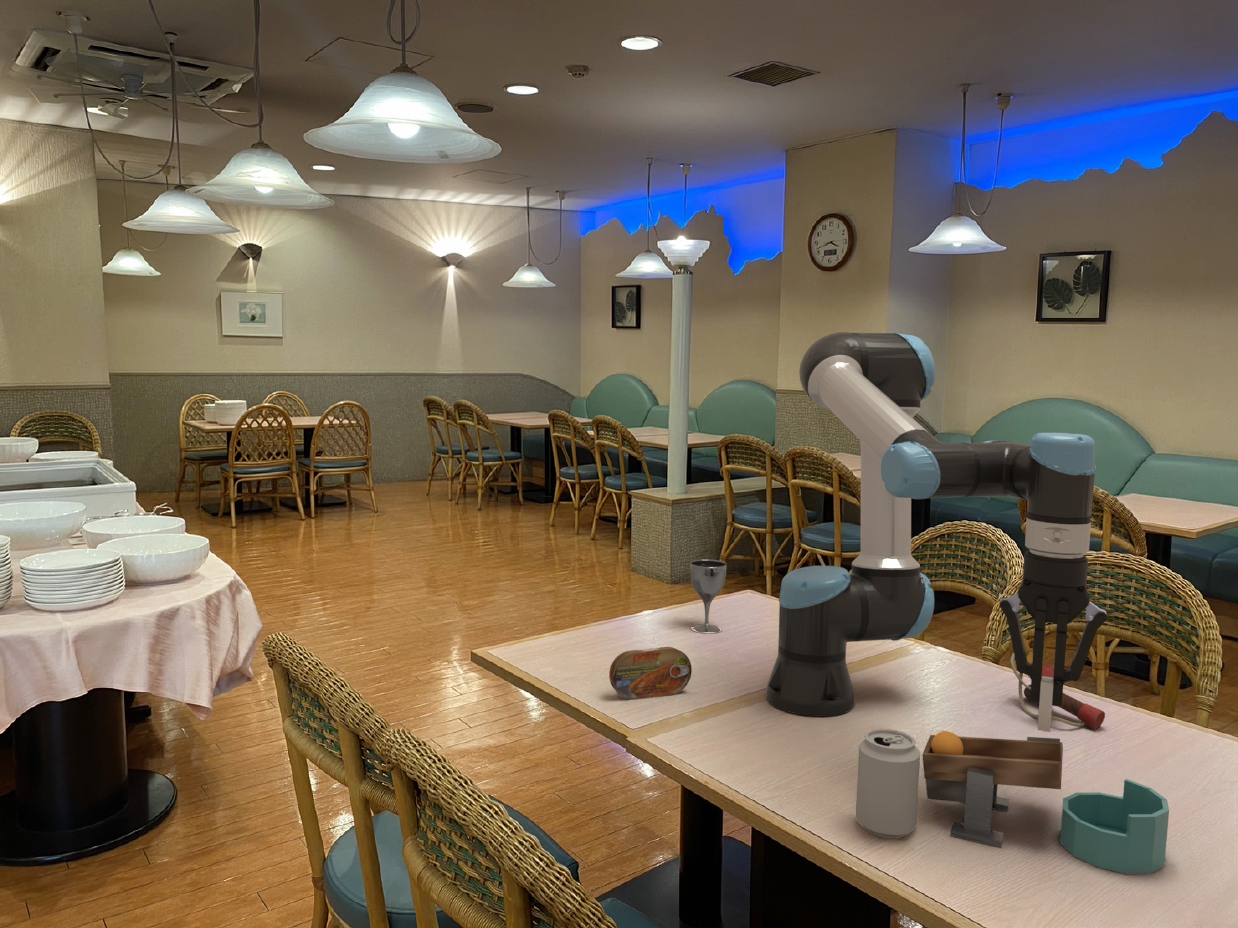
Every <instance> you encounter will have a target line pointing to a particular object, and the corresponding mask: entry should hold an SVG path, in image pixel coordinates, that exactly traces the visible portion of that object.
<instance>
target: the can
mask: <svg viewBox="0 0 1238 928" xmlns="http://www.w3.org/2000/svg"><path fill="white" fill-rule="evenodd" d="M857 755H858V757H857V780H856V798H855V800H856V801H855V802H856V803H855V819H856V821H857V822H858V823H859V824H860V825H861V826H862V827H863V829H865V830H866V831H867V832H868V833H870V834H872V835H874V836H877V837H881V838H885V839H900V838H903V837H906V836H907V835H908V834H910V833H912V832H913V831H914V830H915V829H916V828H917V816H918V803H919V802H918V800H919V781H920V779H919V778H920V762H921V761H920V760H921V751H920V750H919V748H917V746H916V740H915V738H914V737H912V736H911V735H910V734H908V733H906V732H904V731H901V730H897V729H892V728H874V729H870V730H868V731H867V732H865V734H864V738H863V740H862V741H860V743H859V745H858V754H857Z"/></svg>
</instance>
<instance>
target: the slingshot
mask: <svg viewBox="0 0 1238 928" xmlns="http://www.w3.org/2000/svg"><path fill="white" fill-rule="evenodd" d="M1022 637H1023V636H1022ZM1023 642H1024V647H1025V652H1026V657H1027V662H1028V663H1030V664H1032V662H1033V651H1031V648H1030V645H1029V642H1028V641H1027V639H1026V638H1025V637H1023ZM1008 653H1009V657H1010V661H1009V662H1010V667H1011V670H1012V671H1013V673H1014V675H1015V676H1016V678H1017V680H1018V698H1019V702H1020V706H1021V707H1022V710H1023V711H1024V713H1026V714H1027V715H1028V716H1030V717H1032V718H1035V719H1038V717H1039V714H1035V713H1032V712H1031V711H1030V710H1029V709H1028V708H1027V706H1026V704H1025V702H1024V698H1023V695H1024V697H1025V698H1026V699H1027V700H1028V701H1029V702H1031V699H1030V693H1031V683H1030V684H1026V683H1025V682H1024V680H1023V678H1024V677H1023V676H1024V673H1019V672H1018V670H1017V668H1016V666H1015V662H1014V661H1015V656H1014V651H1013V646H1012V641H1011V639H1010V640H1009V642H1008ZM1042 676H1045V677H1051V678H1053V677H1054V665H1051V664H1050V663H1049V664H1048V663H1043V669H1042ZM1023 686H1024V687H1025V688H1024V689H1023ZM1059 708H1060V709H1062V710H1064V711H1065V712H1068V713H1069V714H1071V715H1072V716H1074V717H1076V718H1077V719H1078V720H1079V721H1081V722H1073V721H1070V720H1067V719H1064V718H1061V717H1058V716H1054V715H1051V721H1052V720H1053V721H1057V722H1061V723H1063V724H1067V725H1069V726H1073V727H1077V728H1078V727H1079V728H1080V727H1083V726H1084V725H1087V726H1088V727H1090V728H1092V730H1098V729H1099V728H1101V726H1102V724H1103V723H1104V720H1105V717H1106V712H1104V710H1101V709H1099V708H1097V707H1095V706H1093V705H1091V704H1088V703H1084V702H1082V701H1080V700H1078V699H1076V698H1075V697H1073V696H1070V695H1068V694H1066V693H1065V692H1063V696H1062V704H1061V706H1060V707H1059Z"/></svg>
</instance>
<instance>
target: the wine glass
mask: <svg viewBox="0 0 1238 928" xmlns="http://www.w3.org/2000/svg"><path fill="white" fill-rule="evenodd" d="M689 569H690V570H689V571H690V572H689V573H690V581H691V585H692V588H693V589H694V591H695V592H696V594H697V595H698V597H699V598H700V599H701V600H702V601H701V602H702V603H703V606H704V622H703V623H702V624H695V626H694V625H692V626H691V627H694V628H693V629H695V630H696V631H698V632H719V631H720V629H719V628H718V625H714V624H710V622H709V621H710V620H709V616H710V614H709V613H710V608H711V605H712V602H713V600H714V599H715V598H716V597H717V595H718V594H719V593H721V591H722V590H723V589H724V585H725V583H726V582H725V581H726V576H727V563H726V562H725V561H723V560H717V559H710V558H709V559H708V558H706V559H705V558H704V559H700V558H699V559H694V560H691V561H690V565H689ZM719 633H720V632H719Z"/></svg>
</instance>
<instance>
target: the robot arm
mask: <svg viewBox="0 0 1238 928" xmlns="http://www.w3.org/2000/svg"><path fill="white" fill-rule="evenodd" d="M929 348H930V347H928V345H926V343H925V342H924V340H922V339H921V338H919V337H918V336H915V335H911V334H904V333H898V332H895V333H893V332H888V333H887V332H882V333H881V332H847V331H845V332H841V331H840V332H834V333H830V334H827V335H824V336H822V337H821V338H819V339H817V340H816V341H815V342H814V343H812V344H811V345H810V346H809V347H808V348H807V350H806V352H804V355H803V356H802V358H801V362H800V366H799V372H798V373H799V381H800V384H801V387H802V389H803V391H804V393H805V394H806V396H807V397H808V399H810V400H811V401H812V402H813V404H815V405H817V406H818V407H820V408H823V409H826V410H830V411H831V412H832V414H834V415H835V416H836V417H837V418H838V420H840V421H841V422H842V423H843V424H844V425H845V426H846V427H847V428H848V430H850V431H851V432H852V433H853V434H854V435H855V436H856V437H857V439H858V440H860V554H859V555H858V556H857V557H855V558H854V560H852V562H851V574H850V573H849V571H848V569H846V568H844V567H841V566H836V565H825V566H824V565H812V566H811V565H810V566H804V567H801V568H797V569H796V568H795V569H794V570H792V571H789V572H788V573H787V574H785V576H784V577H782V580H781V585H780V593H779V598H778V603H779V608H778V609H779V611H778V612H779V615H778V617H779V619H778V647H777V648H778V649H777V657H776V660H775V663H774V666H773V668H772V670H771V673H770V675H769V679H768V681H767V685H766V695H765V697H766V700H767V701H768V703H770V705H771V706H773V707H775V708H777V709H780V710H782V711H785V712H789V713H791V714H795V715H802V716H811V717H832V716H838V715H842V714H846V713H848V712H850V711H851V710H852V709H853V708H854V707H855V688H854V685H853V682H852V678H851V675H850V671H849V669H848V664H847V658H846V657H847V643H851V642H852V643H853V642H854V643H855V642H870V641H888V640H890V641H893V642H896V641H901V640H902V639H903V640H904V639H911V638H916V637H918V636H920V635H922V633H923V632H924V630H926V629H927V628H928V626H929V625H930V623H931V620H932V617H933V615H934V609H935V591H934V589H933V588H932V587H931V586H932V584H931V580H930V579H929V578H928V577H927V575H925V574H924V573H922V572H921V565H920V563H919V562H918V561H917V560H916V559H915V558H914V557H913V556H912V499H913V500H925V499H943V498H945V499H946V498H994V497H995V498H999V497H1000V498H1002V497H1003V498H1004V497H1005V498H1013V499H1019V500H1024V501H1027V510H1026V522H1025V540H1024V546H1025V547H1026V548H1027V549H1028V550H1027V551H1026V552H1024V553H1023V554H1024V555H1023V568H1022V569H1023V570H1022V581H1021V584H1020V586H1019V587H1018V589H1017V593H1015V594H1012V595H1011V596H1009V597H1006V596H1003V597H1002V598H1001V599H1000V602H999V608H1000V610H1001V611H1002V613H1003V614H1004V617H1005V619H1006V620H1007V625H1008V631H1009V635H1010V640H1011V641H1012V646H1013V651H1014V656H1015V660H1014V661H1015V664H1016V666H1015V667H1016V671H1017V672H1018V674H1019V673H1023V675H1026V676H1028V677H1029V679H1030V684H1031V693H1030V699H1031V701H1030V702H1031V703H1034V704H1039V705H1038V715H1039V717H1038V718H1037V723H1038V724H1037V730H1038V731H1042V732H1046V733H1047V732H1048V733H1050V732H1051V726H1052V719H1051V716H1052V712H1053V711H1052V710H1053V707H1058V708H1060V706H1061V704H1062V696H1063V693H1064V685H1065V683H1068V682H1077V681H1079V680H1080V678H1081V675H1082V672H1083V669H1084V666H1085V663H1086V661H1087V659H1088V655H1089V653H1090V651H1091V648H1092V645H1093V642H1094V641H1095V640H1094V639H1095V637H1096V634H1097V631H1098V629H1099V628H1100V627H1102V625H1103V624H1104V623H1105V622H1106V621H1107V619H1108V612H1107V610H1106V609H1104V608H1101V607H1099V606H1097V605H1096V604H1094V603H1093V602H1091V599H1090V595H1089V593H1088V590H1087V584H1088V583H1087V582H1088V572H1089V571H1088V568H1089V559H1088V558H1087V556H1086V555H1085V554H1087V553H1089V551H1090V544H1091V543H1090V541H1091V540H1090V539H1091V530H1092V529H1091V525H1092V513H1093V512H1092V511H1093V499H1094V497H1093V496H1094V488H1095V473H1096V471H1097V465H1096V442H1095V439H1094V438H1093V437H1091V436H1090V435H1088V434H1087V435H1086V434H1083V433H1082V434H1081V433H1069V432H1038V433H1035V434H1033V436H1032V440H1031V444H1025V443H1024V444H1023V443H1018V442H1013V441H1010V440H987V441H982V442H943V441H939V439H937V437H935V436H934V435H932V433H930V432H929V431H927V429H925V428H924V427H923V426H922V425H921V424H920V423H918V421H916V420H915V419H914V418H913V417H915V415H917V414H918V412H920V411H921V401H923V400H924V399H926V398H928V397H929V396H930V394H931V393H932V392H933V388H932V387H933V386H934V385H935V381H936V367H935V360H934V356H933V355H932V352H931V350H930V349H929ZM1020 603H1022V605H1023V606H1024V607H1025V610H1027V613H1029V615H1030V616H1031V618H1032V619H1033V620H1034V632H1033V635H1034V636H1033V637H1034V638H1033V648H1032V649H1033V650H1032V652H1033V662H1032V664H1030V663H1028V662H1027V657H1026V652H1025V647H1024V642H1023V632H1022V628H1021V623H1020V616H1019V613H1018V612H1019V611H1020V609H1021V606H1020ZM1084 610H1085V615H1084V616H1085V617H1084V618H1085V620H1086V624H1085V626H1084V628H1083V632H1082V634H1081V637H1080V640H1079V643H1078V645H1077V648H1076V650H1075V653H1074V656H1073V659H1072V662H1071V664H1070V668H1066V667H1065V664H1066V649H1067V635H1068V624H1069V625H1070V623H1072V622H1073V621H1074V620H1076V618H1077V617H1078V616H1079V615H1080V614H1081V613H1082V612H1083V611H1084ZM1047 623H1049V624H1050V623H1051V624H1054V625H1056V631H1055V632H1056V633H1055V647H1054V648H1055V649H1054V661H1053V662H1054V665H1053V667H1054V677H1053V678H1051V677H1045V676H1042V669H1043V664H1044V652H1045V636H1046V626H1047ZM1065 668H1066V669H1065Z"/></svg>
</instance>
